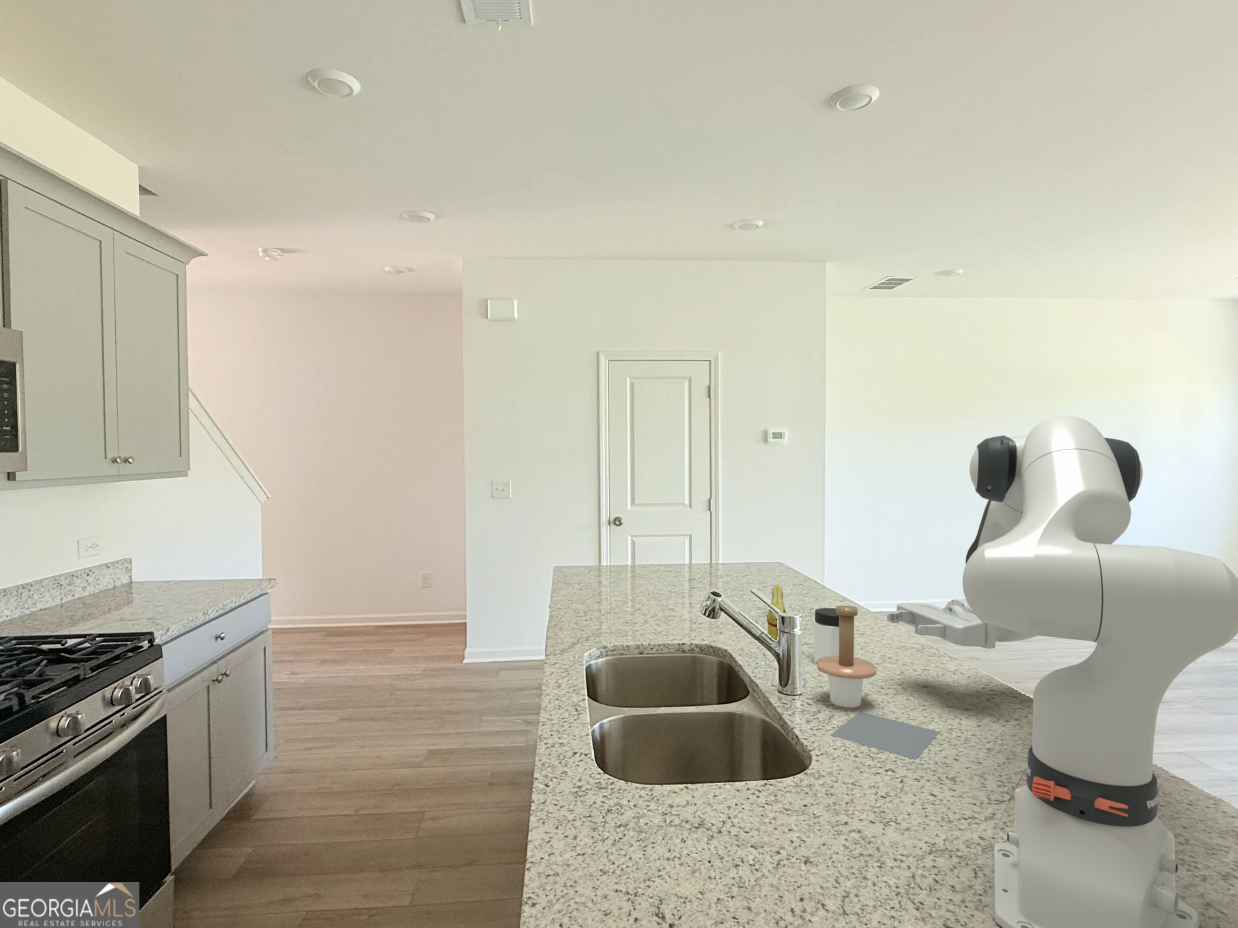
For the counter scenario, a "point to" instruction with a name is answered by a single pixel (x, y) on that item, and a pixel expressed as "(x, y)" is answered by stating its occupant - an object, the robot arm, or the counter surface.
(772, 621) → the chocolate bunny
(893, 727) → the mat
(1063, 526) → the robot arm
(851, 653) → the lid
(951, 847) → the counter surface
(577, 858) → the counter surface
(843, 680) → the shot glass
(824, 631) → the jar
